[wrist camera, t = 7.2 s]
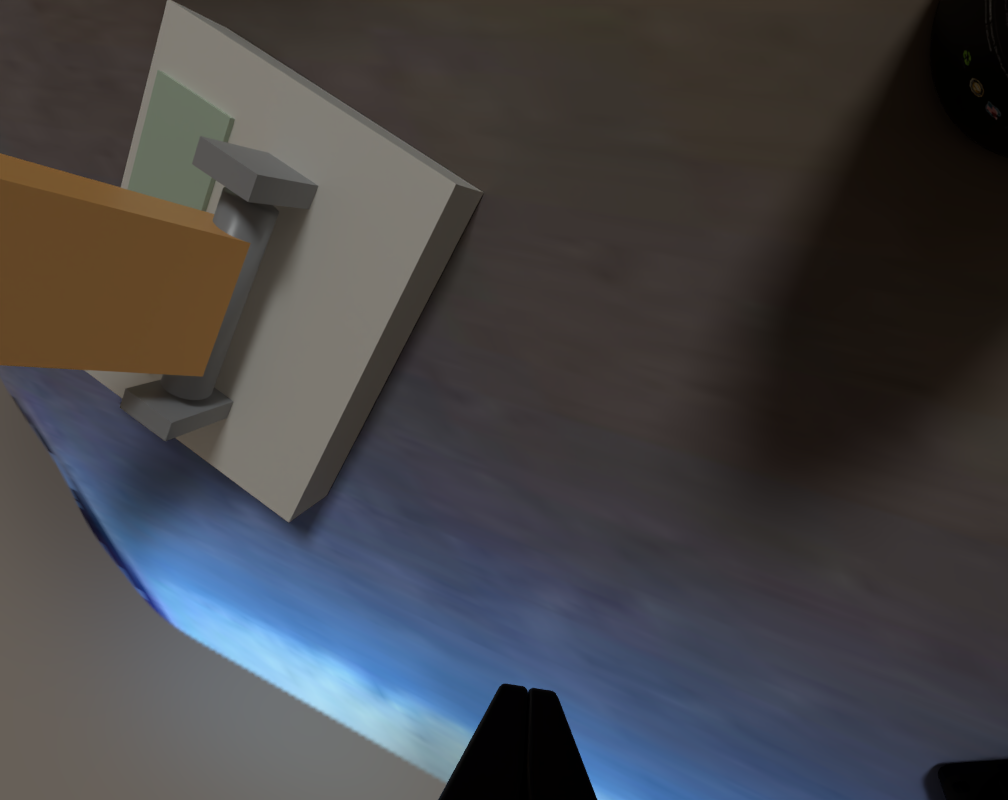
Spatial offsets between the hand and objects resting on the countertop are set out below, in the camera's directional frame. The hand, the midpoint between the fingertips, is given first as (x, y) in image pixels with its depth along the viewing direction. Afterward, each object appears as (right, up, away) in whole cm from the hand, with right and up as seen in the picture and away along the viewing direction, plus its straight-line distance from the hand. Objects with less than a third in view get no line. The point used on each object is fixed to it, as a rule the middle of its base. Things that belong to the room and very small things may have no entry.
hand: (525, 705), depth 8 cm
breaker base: (-9, +9, +13) cm, 18 cm away
